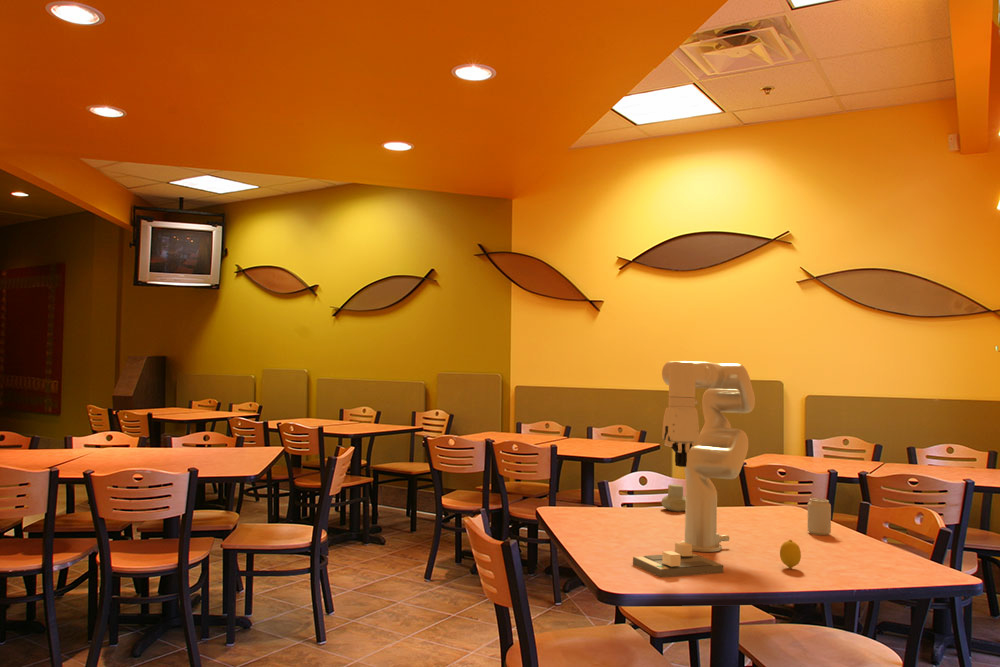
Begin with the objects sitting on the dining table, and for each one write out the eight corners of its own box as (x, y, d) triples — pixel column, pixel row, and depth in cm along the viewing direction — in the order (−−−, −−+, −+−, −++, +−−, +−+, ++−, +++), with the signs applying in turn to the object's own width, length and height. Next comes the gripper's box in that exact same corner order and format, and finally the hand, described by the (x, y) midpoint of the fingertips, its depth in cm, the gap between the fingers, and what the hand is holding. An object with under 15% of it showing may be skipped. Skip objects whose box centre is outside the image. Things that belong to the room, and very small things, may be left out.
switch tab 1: (671, 562, 202) (672, 550, 203) (680, 565, 199) (680, 554, 199) (662, 562, 201) (662, 551, 202) (670, 566, 198) (671, 555, 198)
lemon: (783, 565, 213) (783, 536, 214) (803, 568, 210) (803, 539, 210) (776, 568, 209) (777, 539, 210) (797, 572, 206) (797, 542, 206)
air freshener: (665, 512, 295) (665, 486, 295) (659, 508, 303) (659, 483, 304) (692, 512, 296) (692, 487, 296) (685, 508, 304) (685, 484, 304)
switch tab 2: (683, 552, 214) (684, 541, 215) (692, 555, 211) (692, 545, 211) (674, 553, 213) (675, 542, 213) (683, 556, 210) (683, 545, 210)
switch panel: (692, 560, 216) (693, 552, 216) (723, 572, 203) (723, 564, 203) (632, 564, 209) (633, 556, 209) (660, 577, 196) (660, 568, 196)
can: (827, 537, 255) (827, 501, 256) (804, 533, 260) (805, 499, 260) (833, 533, 261) (833, 499, 262) (810, 530, 266) (810, 496, 266)
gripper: (695, 403, 224) (694, 464, 223) (652, 402, 219) (651, 465, 218) (710, 404, 217) (710, 467, 216) (667, 403, 212) (666, 468, 211)
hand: (680, 466), depth 217 cm, fingers closed
